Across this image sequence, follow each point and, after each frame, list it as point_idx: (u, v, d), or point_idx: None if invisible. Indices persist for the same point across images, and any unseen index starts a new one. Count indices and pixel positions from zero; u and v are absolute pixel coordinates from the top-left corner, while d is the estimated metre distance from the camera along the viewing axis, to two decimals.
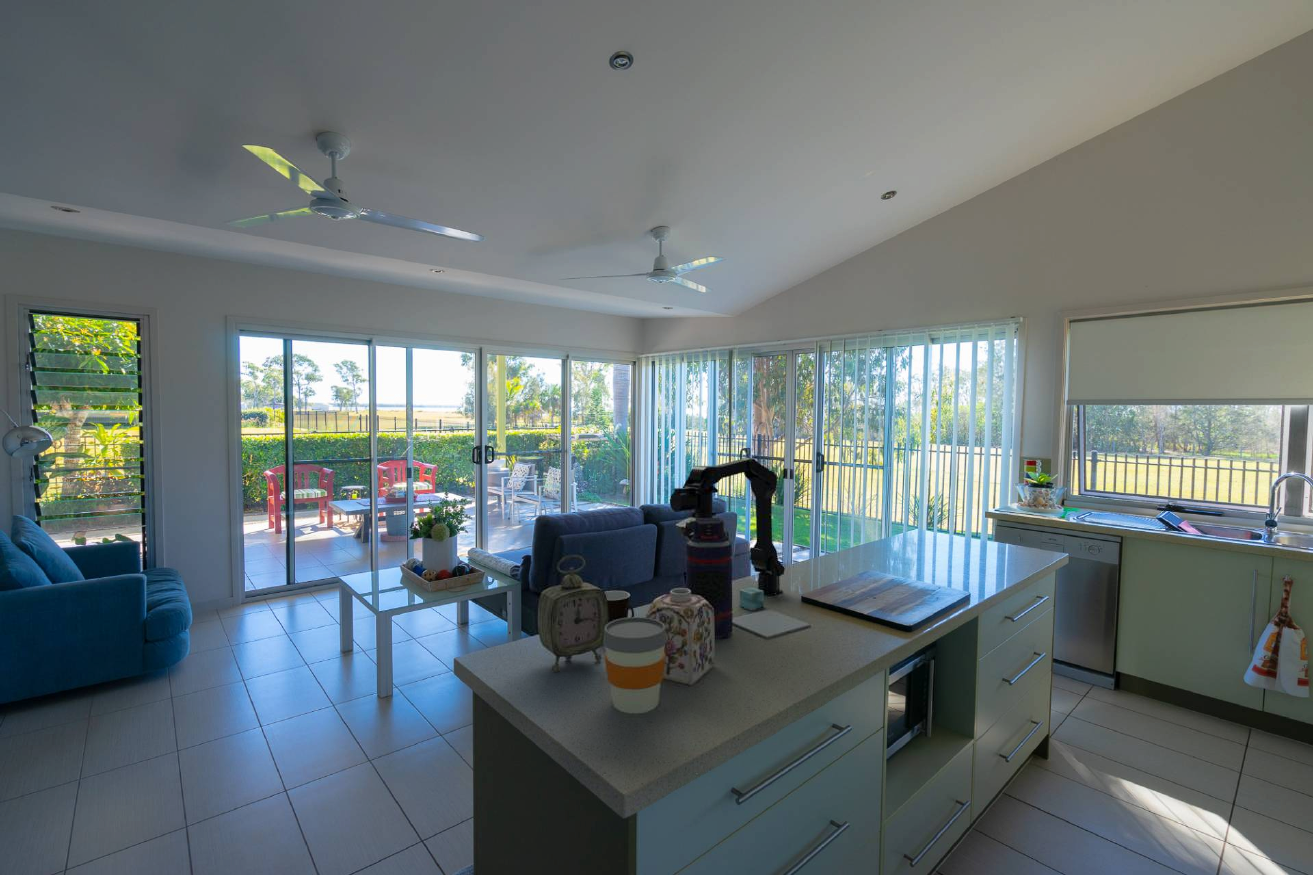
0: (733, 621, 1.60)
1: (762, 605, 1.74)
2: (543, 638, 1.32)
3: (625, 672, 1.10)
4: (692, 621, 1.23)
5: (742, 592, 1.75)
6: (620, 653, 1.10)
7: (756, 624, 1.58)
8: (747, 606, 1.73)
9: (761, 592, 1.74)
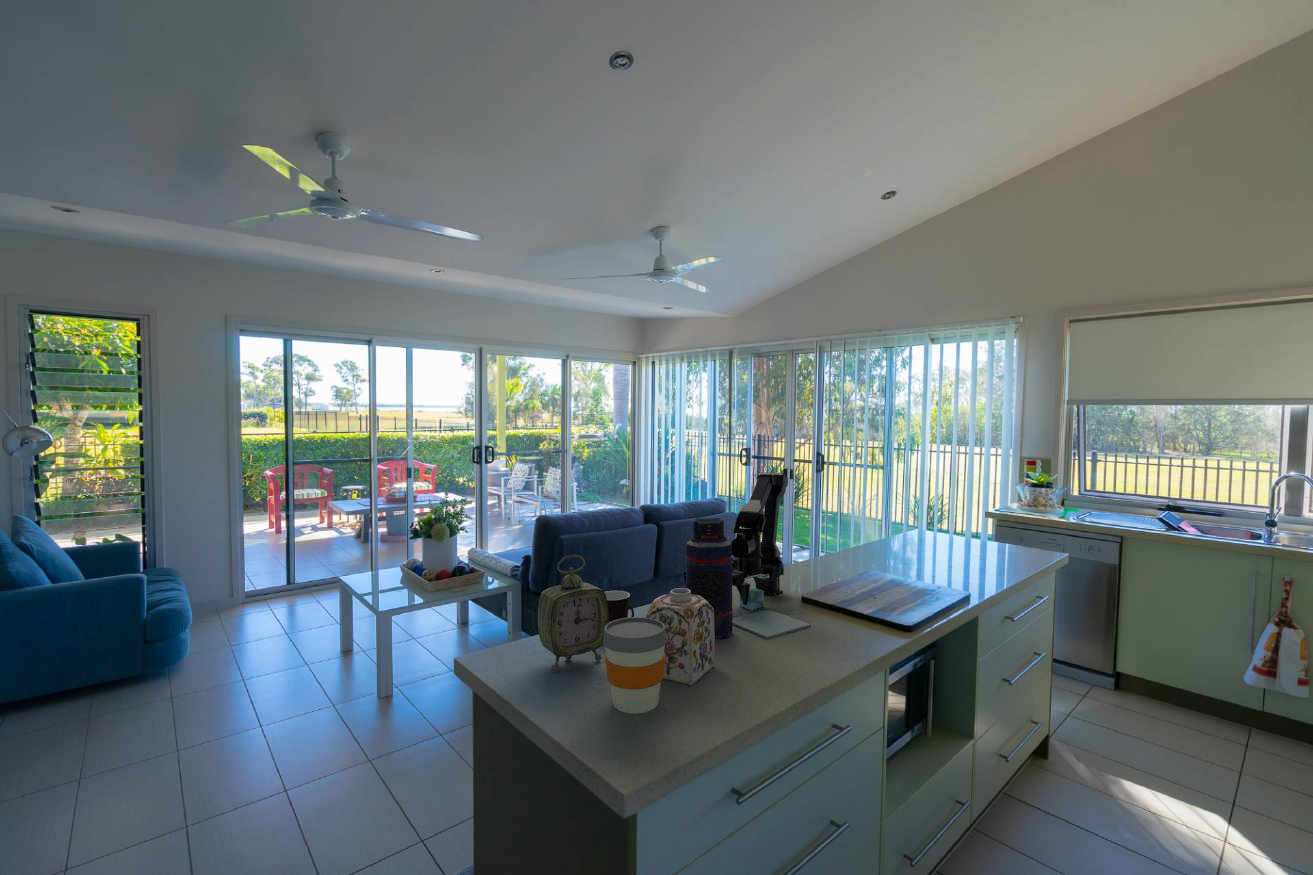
0: (733, 621, 1.60)
1: (762, 605, 1.74)
2: (543, 639, 1.32)
3: (625, 672, 1.10)
4: (692, 621, 1.23)
5: None
6: (620, 653, 1.10)
7: (756, 624, 1.58)
8: (747, 606, 1.73)
9: (761, 592, 1.74)
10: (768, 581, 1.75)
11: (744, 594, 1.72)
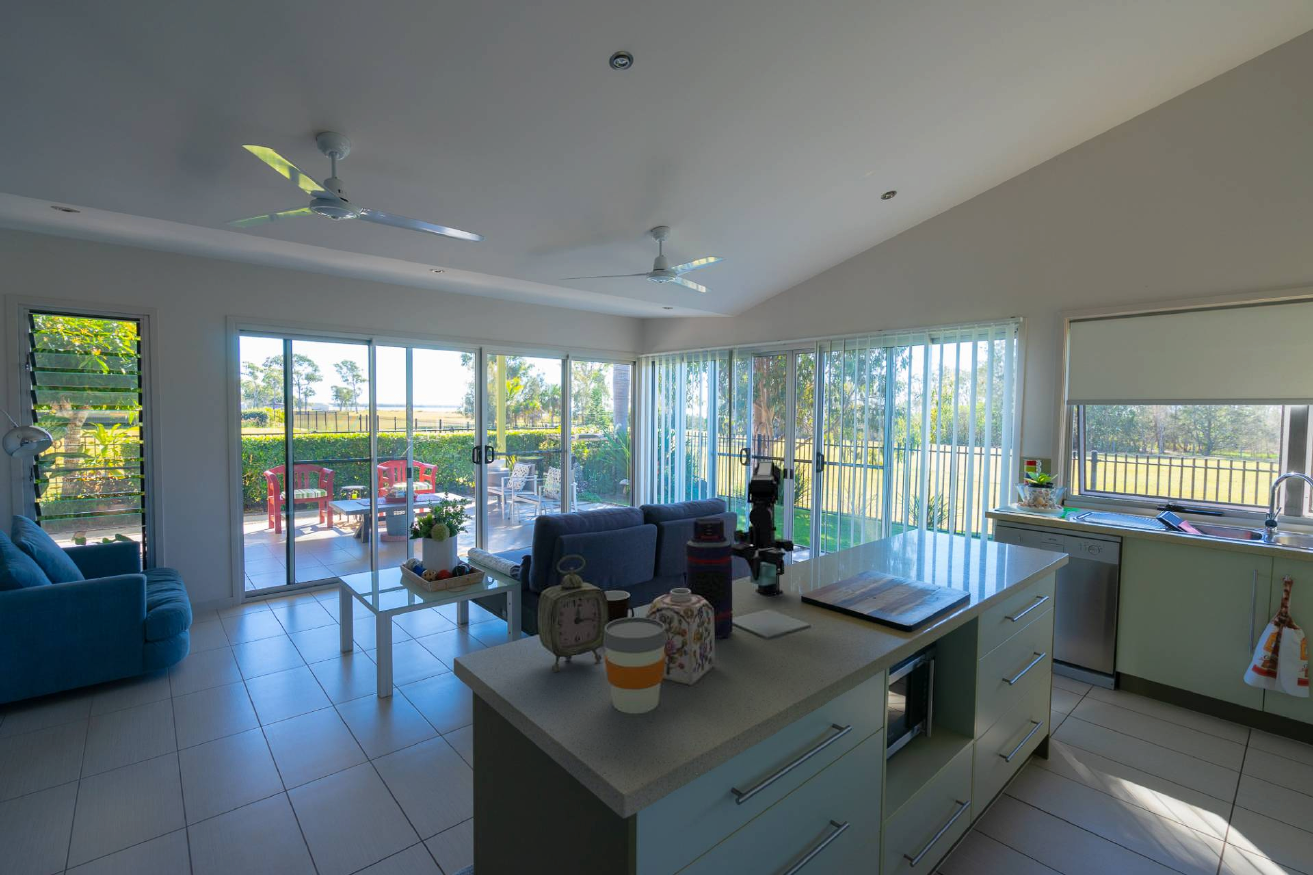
0: (733, 621, 1.60)
1: (774, 580, 1.61)
2: (543, 639, 1.32)
3: (625, 672, 1.10)
4: (692, 621, 1.23)
5: None
6: (620, 653, 1.10)
7: (756, 624, 1.58)
8: (758, 581, 1.60)
9: (773, 566, 1.61)
10: (781, 555, 1.62)
11: (755, 568, 1.59)
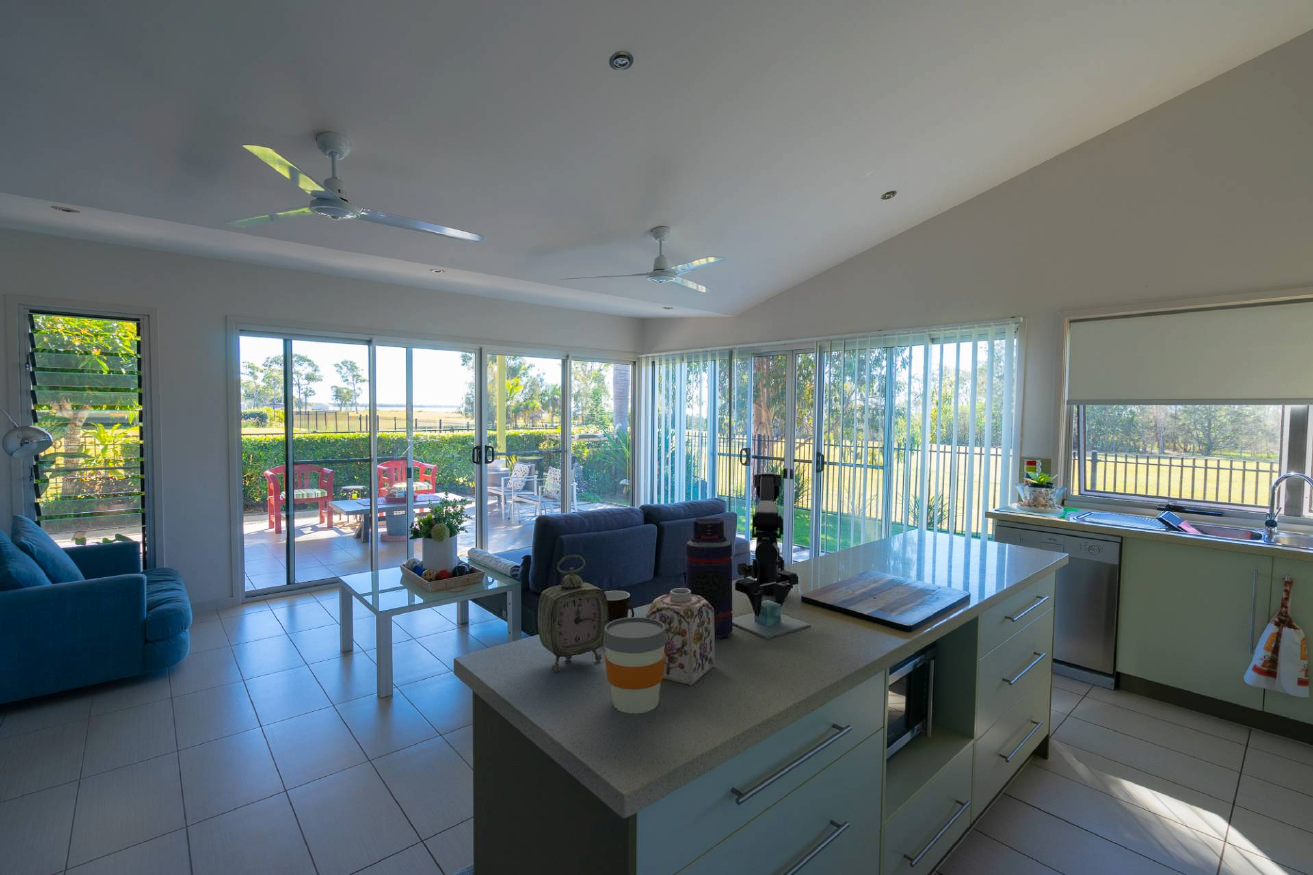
0: (733, 621, 1.60)
1: (779, 620, 1.59)
2: (543, 639, 1.32)
3: (625, 672, 1.10)
4: (692, 621, 1.23)
5: None
6: (620, 653, 1.10)
7: (756, 624, 1.58)
8: (763, 621, 1.58)
9: (778, 606, 1.58)
10: (789, 588, 1.60)
11: (756, 604, 1.56)
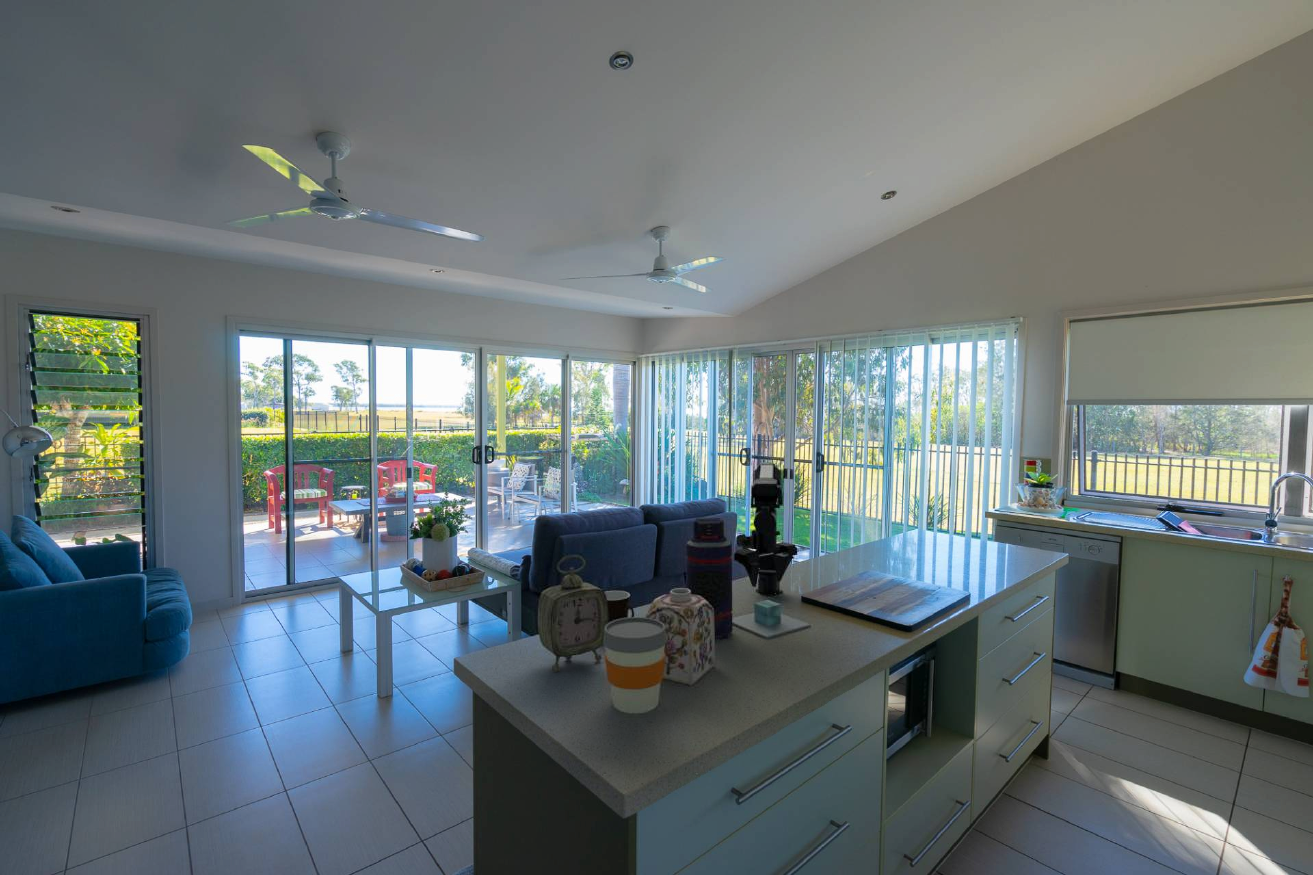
0: (733, 621, 1.60)
1: (779, 620, 1.59)
2: (543, 639, 1.32)
3: (625, 672, 1.10)
4: (692, 621, 1.23)
5: (757, 606, 1.59)
6: (620, 653, 1.10)
7: (756, 624, 1.58)
8: (763, 621, 1.58)
9: (778, 606, 1.58)
10: (790, 559, 1.61)
11: (753, 575, 1.56)
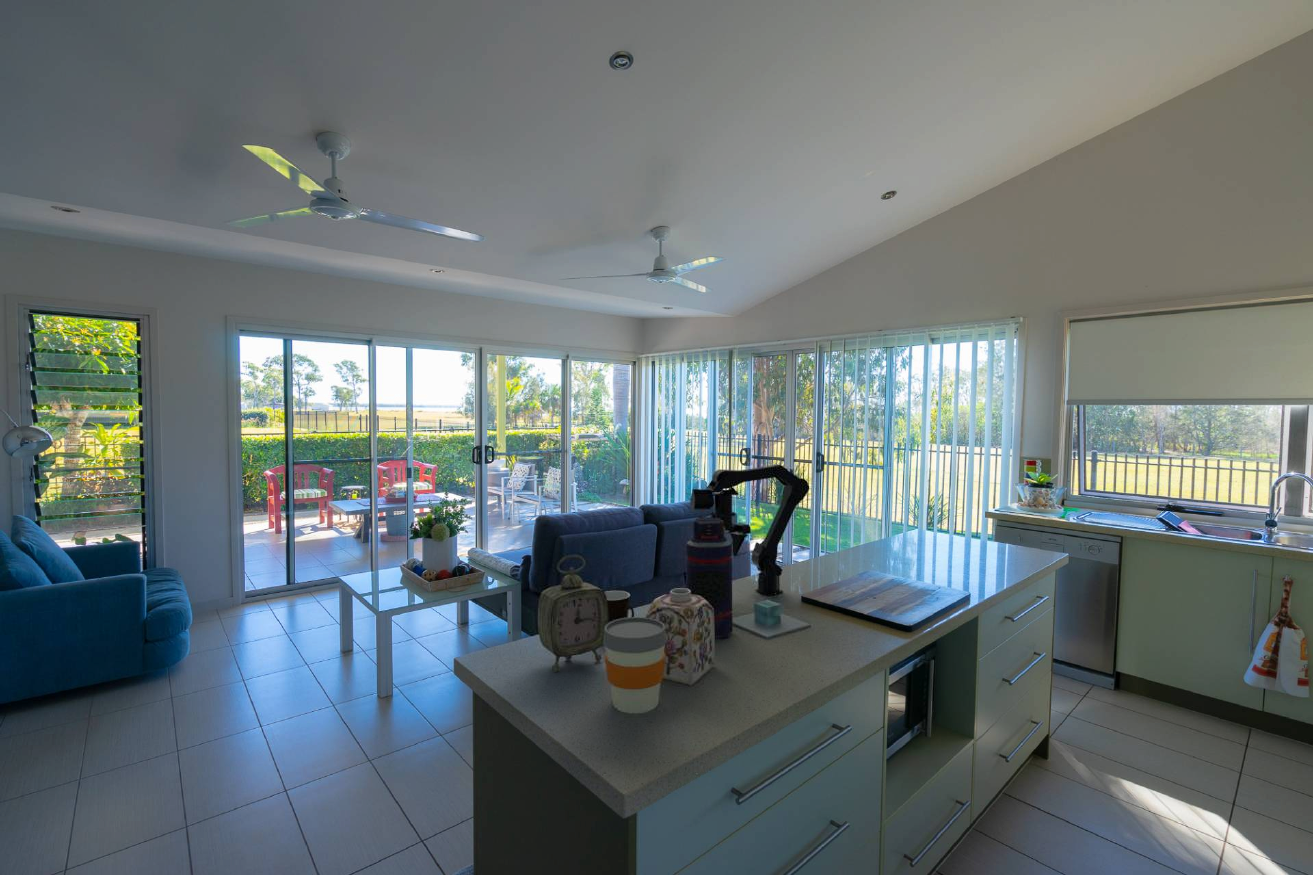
0: (733, 621, 1.60)
1: (779, 620, 1.59)
2: (543, 639, 1.32)
3: (625, 672, 1.10)
4: (692, 621, 1.23)
5: (757, 606, 1.59)
6: (620, 653, 1.10)
7: (756, 624, 1.58)
8: (763, 621, 1.58)
9: (778, 606, 1.58)
10: (744, 536, 1.88)
11: None
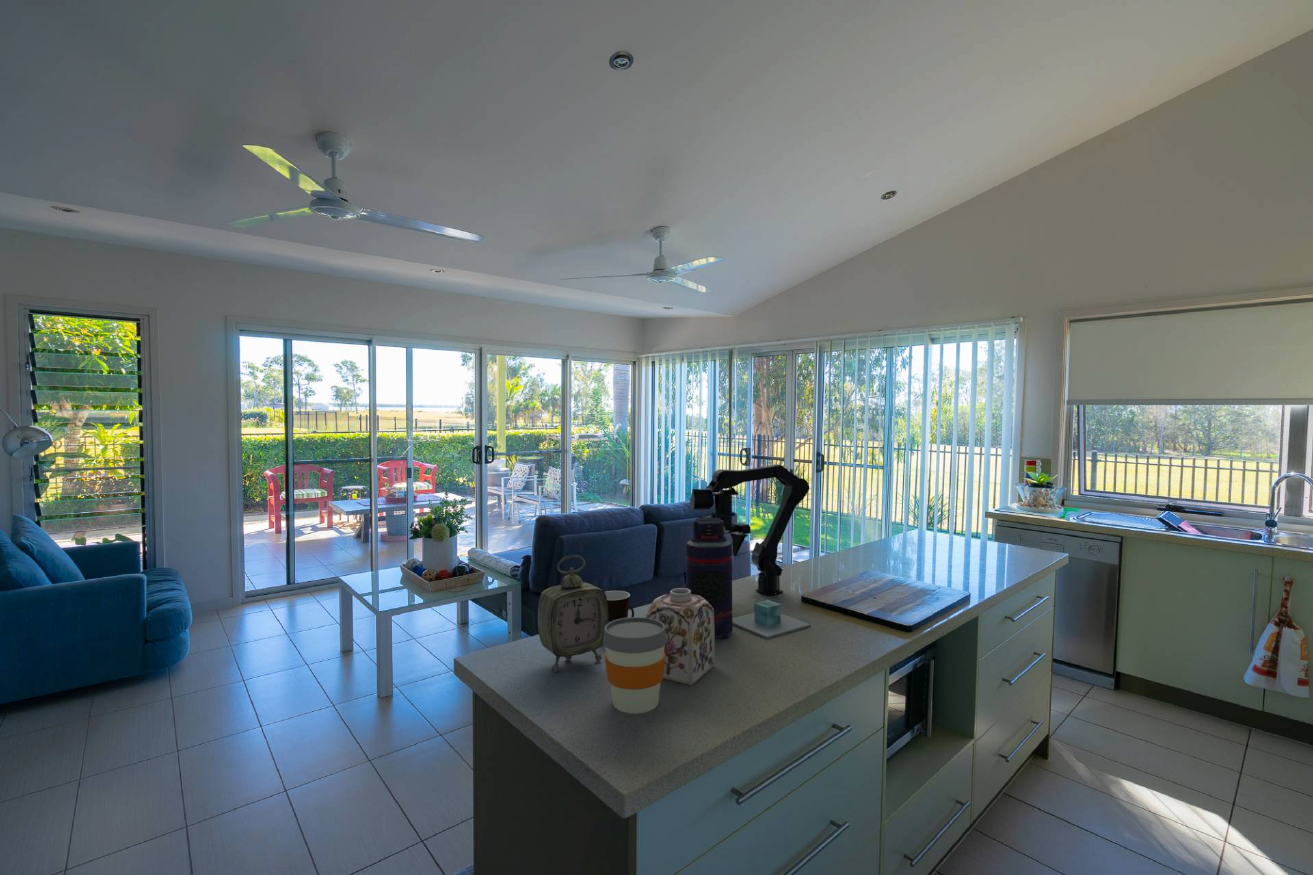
0: (733, 621, 1.60)
1: (779, 620, 1.59)
2: (543, 639, 1.32)
3: (625, 672, 1.10)
4: (692, 621, 1.23)
5: (757, 606, 1.59)
6: (620, 653, 1.10)
7: (756, 624, 1.58)
8: (763, 621, 1.58)
9: (778, 606, 1.58)
10: (743, 536, 1.88)
11: None
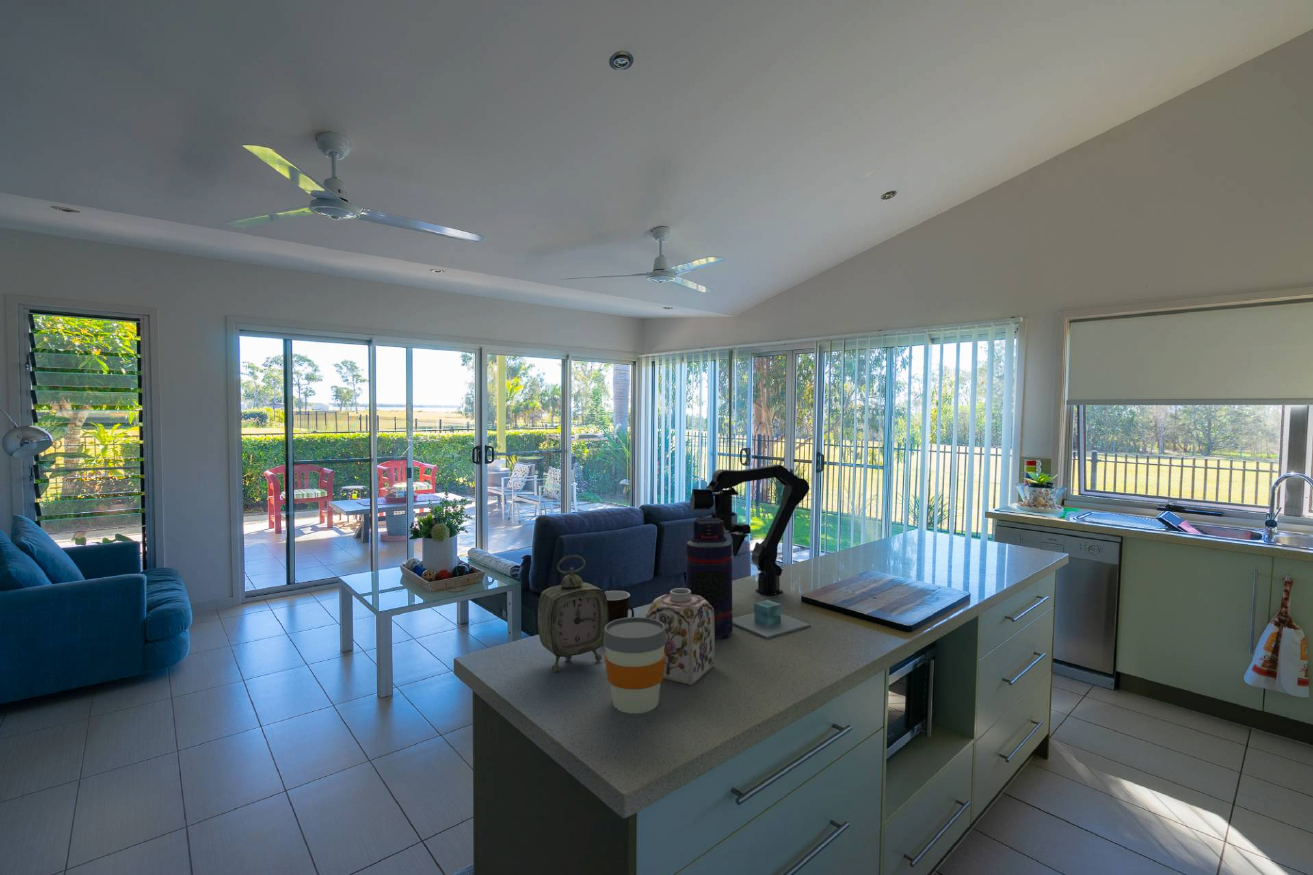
0: (733, 621, 1.60)
1: (779, 620, 1.59)
2: (543, 638, 1.32)
3: (625, 672, 1.10)
4: (692, 621, 1.23)
5: (757, 606, 1.59)
6: (620, 653, 1.10)
7: (756, 624, 1.58)
8: (763, 621, 1.58)
9: (778, 606, 1.58)
10: (743, 536, 1.88)
11: None
